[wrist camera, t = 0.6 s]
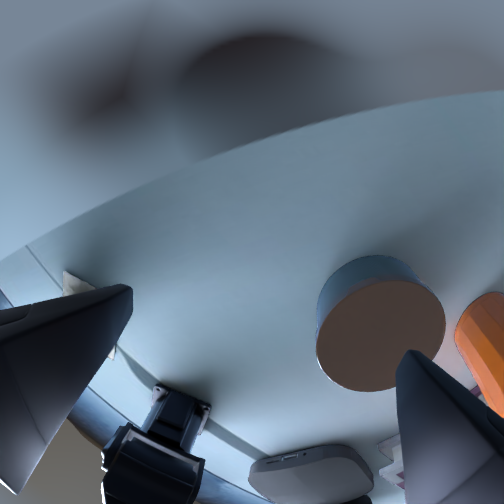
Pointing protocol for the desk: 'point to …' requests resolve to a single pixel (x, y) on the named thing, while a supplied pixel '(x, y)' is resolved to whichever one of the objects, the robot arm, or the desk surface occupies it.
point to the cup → (484, 346)
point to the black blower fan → (359, 500)
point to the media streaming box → (313, 476)
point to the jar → (375, 322)
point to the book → (394, 453)
